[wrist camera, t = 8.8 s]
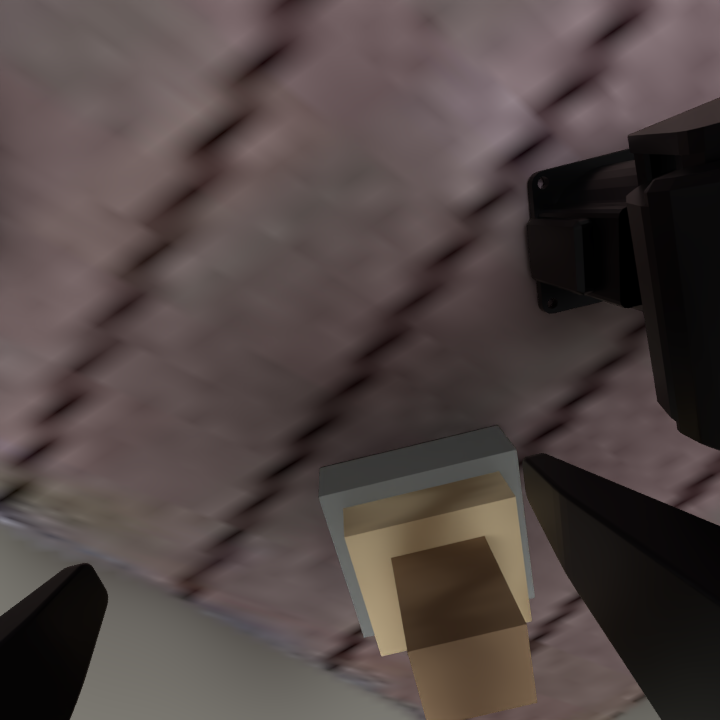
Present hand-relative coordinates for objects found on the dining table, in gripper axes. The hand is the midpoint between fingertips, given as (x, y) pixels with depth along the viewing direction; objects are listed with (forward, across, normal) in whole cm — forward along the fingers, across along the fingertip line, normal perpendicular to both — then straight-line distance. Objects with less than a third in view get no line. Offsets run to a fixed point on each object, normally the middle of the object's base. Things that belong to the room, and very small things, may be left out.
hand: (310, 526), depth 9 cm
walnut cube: (+8, -3, +12) cm, 15 cm away
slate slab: (+13, -3, +12) cm, 18 cm away
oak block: (+10, -3, +12) cm, 16 cm away
